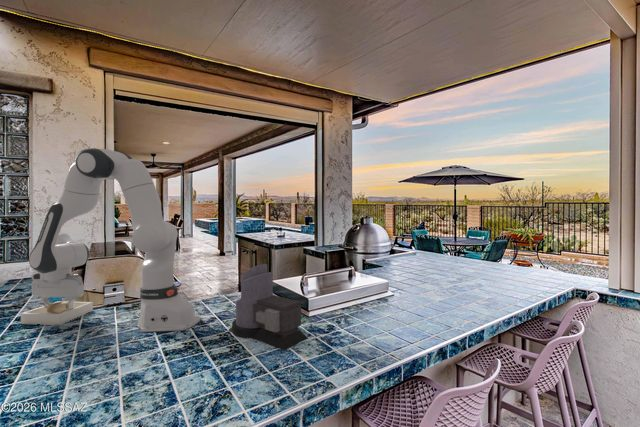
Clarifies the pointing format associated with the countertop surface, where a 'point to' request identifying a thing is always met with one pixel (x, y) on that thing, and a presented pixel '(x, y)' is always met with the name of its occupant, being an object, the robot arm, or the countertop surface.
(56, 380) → the countertop surface
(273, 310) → the juicer
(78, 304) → the tray
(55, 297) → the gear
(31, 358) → the countertop surface
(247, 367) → the countertop surface
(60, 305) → the block
